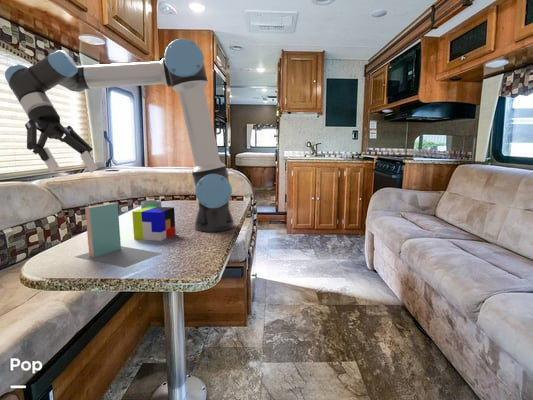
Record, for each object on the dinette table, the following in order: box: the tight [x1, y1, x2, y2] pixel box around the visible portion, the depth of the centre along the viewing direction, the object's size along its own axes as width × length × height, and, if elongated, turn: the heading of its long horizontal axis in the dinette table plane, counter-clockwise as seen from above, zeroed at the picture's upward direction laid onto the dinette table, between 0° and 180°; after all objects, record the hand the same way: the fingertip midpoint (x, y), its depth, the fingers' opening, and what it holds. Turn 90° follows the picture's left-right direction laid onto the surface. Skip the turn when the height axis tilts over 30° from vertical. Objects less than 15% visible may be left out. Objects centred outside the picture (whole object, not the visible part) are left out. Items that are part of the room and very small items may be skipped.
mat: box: [74, 245, 163, 268], centre depth 94 cm, size 20×13×1 cm, turn 64°
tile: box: [84, 202, 122, 257], centre depth 96 cm, size 2×9×14 cm, turn 154°
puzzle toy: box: [132, 206, 177, 242], centre depth 114 cm, size 10×10×10 cm
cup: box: [140, 199, 163, 209], centre depth 132 cm, size 8×8×10 cm
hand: (75, 170), depth 97 cm, fingers open, 13 cm apart
